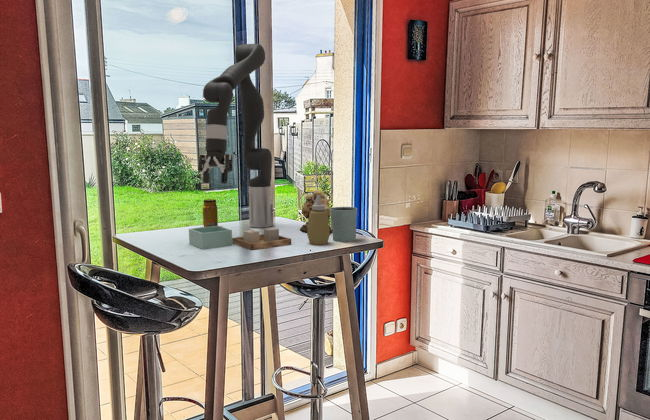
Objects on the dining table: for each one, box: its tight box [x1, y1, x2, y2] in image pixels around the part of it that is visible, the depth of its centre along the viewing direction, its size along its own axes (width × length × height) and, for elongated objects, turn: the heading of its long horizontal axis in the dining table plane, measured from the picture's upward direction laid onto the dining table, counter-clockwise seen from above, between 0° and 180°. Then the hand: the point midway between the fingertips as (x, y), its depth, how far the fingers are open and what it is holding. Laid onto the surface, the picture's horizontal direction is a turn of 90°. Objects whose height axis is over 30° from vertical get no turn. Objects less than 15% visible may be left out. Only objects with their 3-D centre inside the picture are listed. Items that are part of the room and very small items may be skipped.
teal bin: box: [188, 225, 233, 250], centre depth 194 cm, size 11×11×6 cm
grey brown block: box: [263, 227, 280, 242], centre depth 197 cm, size 4×4×5 cm
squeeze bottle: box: [306, 195, 331, 246], centre depth 195 cm, size 8×8×18 cm
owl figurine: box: [299, 189, 333, 235], centre depth 222 cm, size 18×12×17 cm, turn 34°
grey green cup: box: [329, 206, 358, 243], centre depth 205 cm, size 10×10×12 cm
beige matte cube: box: [242, 229, 261, 244], centre depth 192 cm, size 4×4×5 cm
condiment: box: [202, 198, 224, 227], centre depth 231 cm, size 7×8×12 cm
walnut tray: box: [232, 233, 292, 251], centre depth 195 cm, size 16×14×3 cm
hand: (214, 183), depth 198 cm, fingers open, 8 cm apart
